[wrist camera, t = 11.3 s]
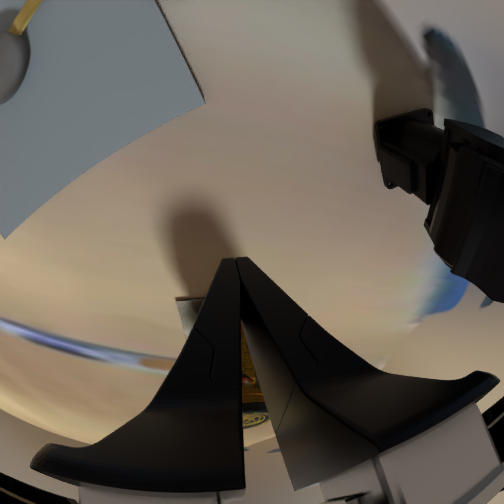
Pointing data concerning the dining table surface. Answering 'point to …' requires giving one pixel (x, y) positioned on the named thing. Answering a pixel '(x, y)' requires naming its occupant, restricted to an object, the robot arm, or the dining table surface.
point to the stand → (84, 94)
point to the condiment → (251, 390)
